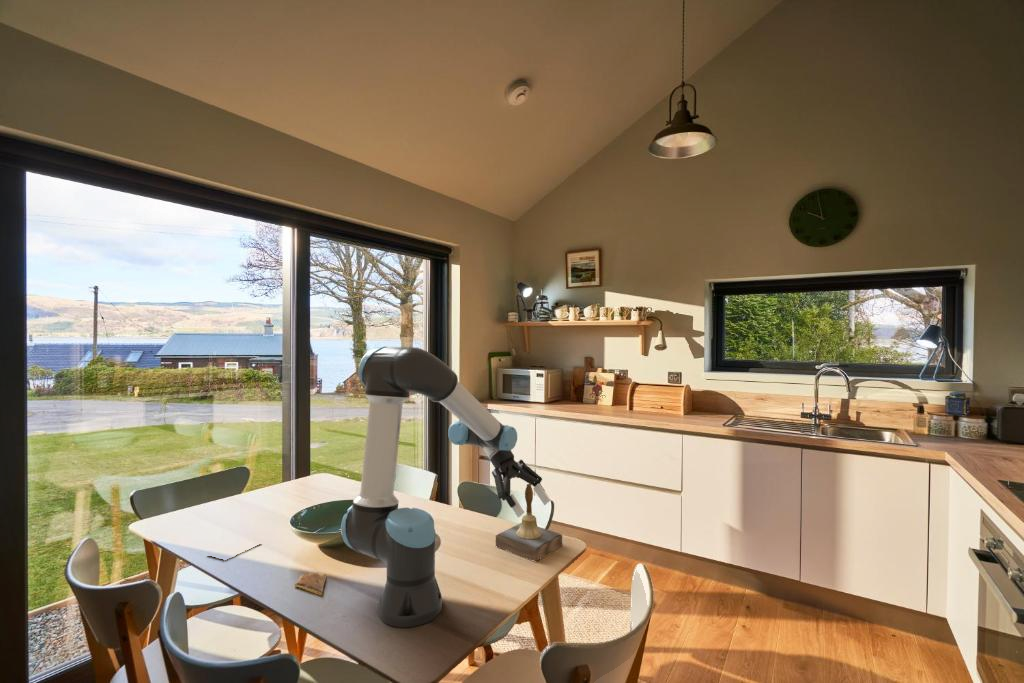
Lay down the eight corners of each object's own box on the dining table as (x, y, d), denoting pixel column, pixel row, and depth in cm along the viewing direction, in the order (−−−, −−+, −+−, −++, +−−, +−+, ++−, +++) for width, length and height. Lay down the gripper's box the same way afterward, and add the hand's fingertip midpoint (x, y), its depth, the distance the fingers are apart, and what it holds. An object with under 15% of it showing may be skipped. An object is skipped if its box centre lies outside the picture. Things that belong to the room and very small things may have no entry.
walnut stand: (535, 562, 142) (535, 548, 142) (495, 546, 152) (495, 534, 152) (562, 546, 153) (562, 533, 152) (523, 532, 163) (523, 521, 163)
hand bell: (543, 539, 148) (543, 488, 148) (517, 540, 148) (517, 488, 147) (540, 528, 157) (540, 479, 156) (514, 529, 156) (515, 480, 156)
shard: (322, 598, 123) (322, 591, 123) (290, 602, 121) (290, 595, 121) (326, 577, 134) (326, 571, 134) (297, 581, 132) (297, 574, 132)
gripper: (516, 452, 171) (550, 504, 162) (466, 468, 152) (502, 527, 143) (528, 440, 168) (563, 491, 158) (478, 454, 149) (516, 513, 139)
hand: (534, 508), depth 151 cm, fingers open, 13 cm apart
